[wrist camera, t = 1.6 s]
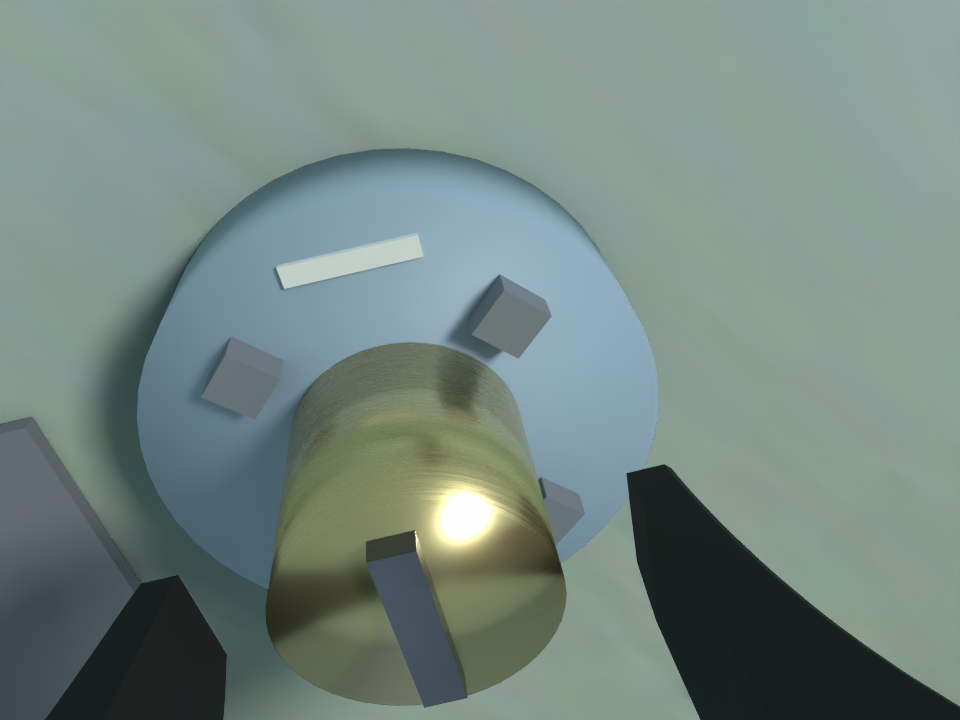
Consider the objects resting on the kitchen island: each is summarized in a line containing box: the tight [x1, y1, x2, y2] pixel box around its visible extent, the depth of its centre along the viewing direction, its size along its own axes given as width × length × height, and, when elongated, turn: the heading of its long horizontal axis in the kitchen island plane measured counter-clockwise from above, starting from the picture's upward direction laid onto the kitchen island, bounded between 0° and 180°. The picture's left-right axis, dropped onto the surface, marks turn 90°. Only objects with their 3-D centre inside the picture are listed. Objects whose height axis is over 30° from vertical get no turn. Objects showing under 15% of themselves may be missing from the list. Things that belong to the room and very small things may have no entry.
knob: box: [266, 342, 566, 708], centre depth 13 cm, size 4×4×5 cm
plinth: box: [137, 149, 658, 589], centre depth 16 cm, size 10×10×3 cm
